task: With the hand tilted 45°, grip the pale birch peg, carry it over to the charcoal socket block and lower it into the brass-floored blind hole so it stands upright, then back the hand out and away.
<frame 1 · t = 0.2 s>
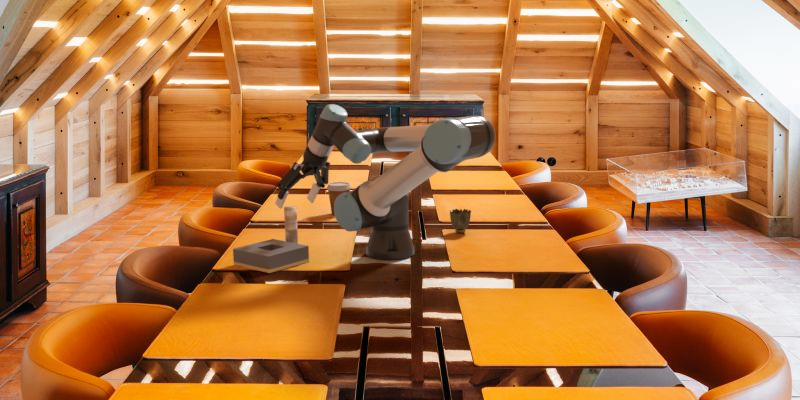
hand: (294, 203, 264), 15 cm above the table, tool tilted 35°, fingers open, 13 cm apart
disposable coffee cup: (339, 214, 324), on the table
cup: (460, 233, 288), on the table
socket block: (271, 263, 250), on the table
birch peg: (292, 249, 267), on the table
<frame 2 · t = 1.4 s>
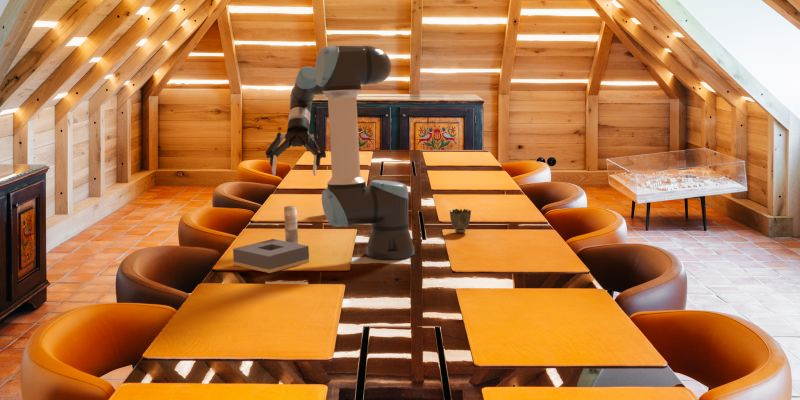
hand: (293, 173, 273), 23 cm above the table, tool tilted 45°, fingers open, 13 cm apart
nothing on the table moved.
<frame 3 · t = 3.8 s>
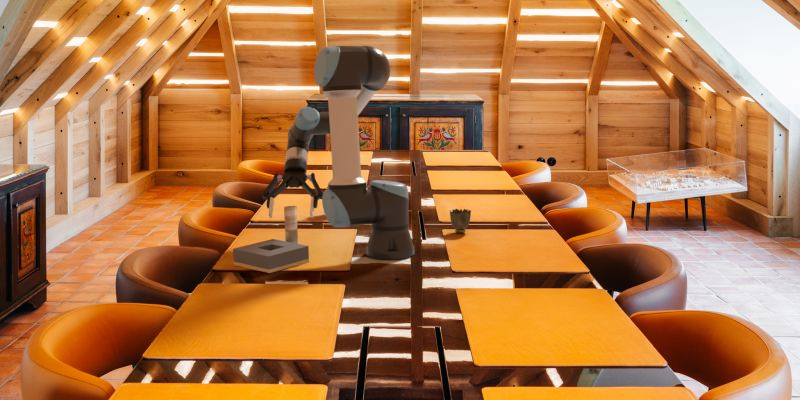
hand: (290, 215, 269), 10 cm above the table, tool tilted 45°, fingers open, 13 cm apart
nothing on the table moved.
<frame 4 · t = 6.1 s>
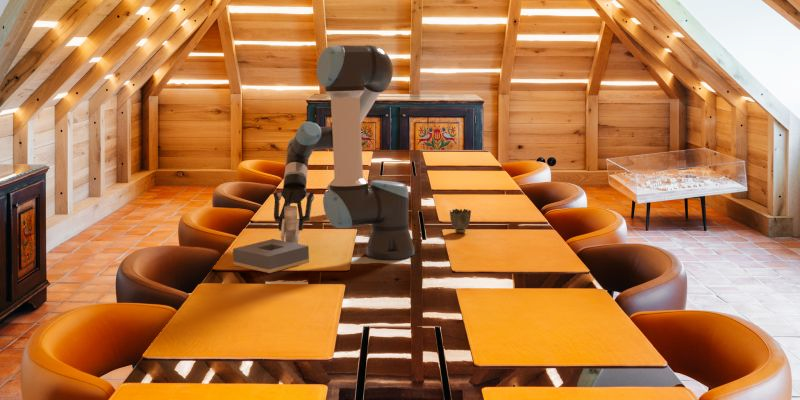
hand: (289, 238, 263), 5 cm above the table, tool tilted 45°, fingers closed on birch peg, 4 cm apart
birch peg: (292, 249, 267), on the table, touching gripper
everything else where it was.
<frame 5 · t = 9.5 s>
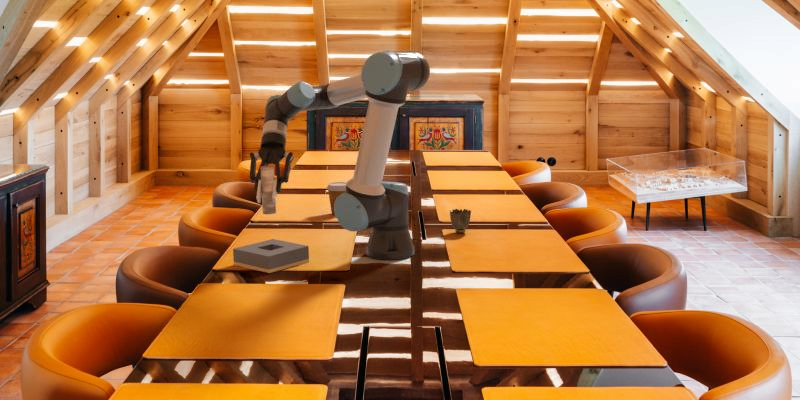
hand: (266, 200, 243), 20 cm above the table, tool tilted 45°, fingers closed on birch peg, 4 cm apart
birch peg: (269, 213, 247), point 16 cm above the table, touching gripper
everything else where it was.
when the fingers open (7 cm above the table, at t = 13.0 s): birch peg stays where it is, resting on socket block.
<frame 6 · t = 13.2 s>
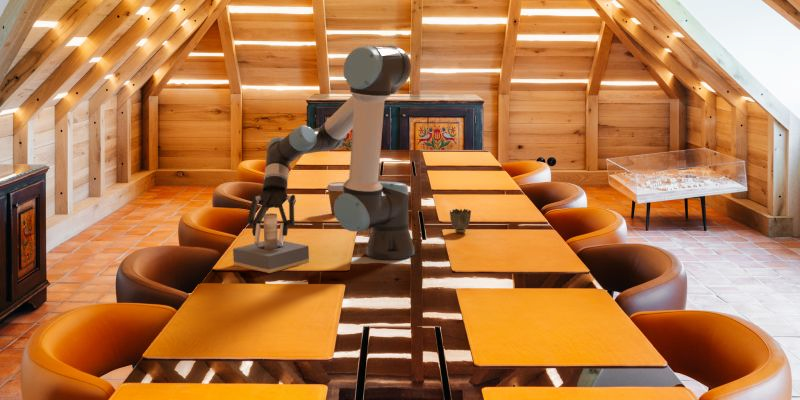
hand: (268, 244, 245), 7 cm above the table, tool tilted 45°, fingers open, 7 cm apart
birch peg: (271, 259, 250), point 1 cm above the table, touching socket block
everything else where it was.
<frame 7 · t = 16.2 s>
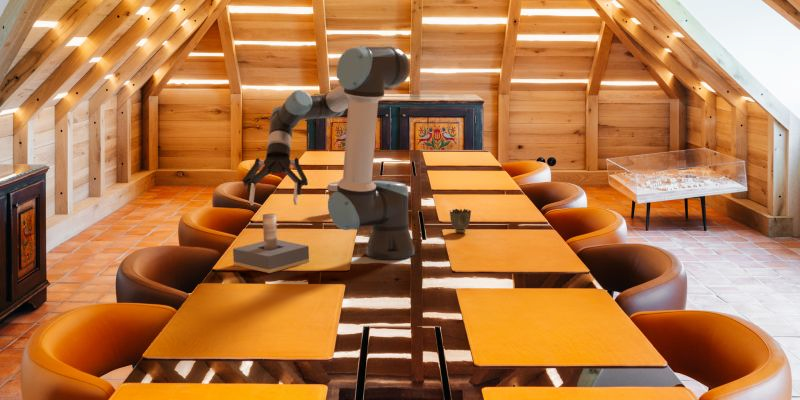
hand: (273, 202, 254), 17 cm above the table, tool tilted 45°, fingers open, 13 cm apart
nothing on the table moved.
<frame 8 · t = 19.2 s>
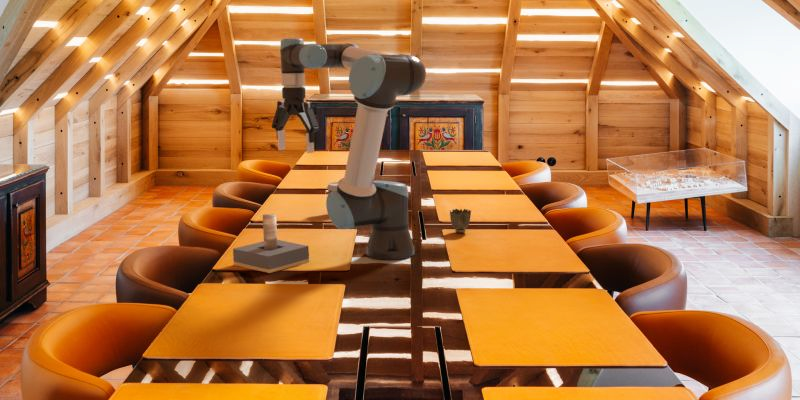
hand: (295, 151, 272), 31 cm above the table, tool pointing down, fingers open, 13 cm apart
nothing on the table moved.
at the end: birch peg 0.0 cm off-centre on the socket block, point 1.0 cm above the socket block's base; birch peg tilted 0°; the gripper is holding nothing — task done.
